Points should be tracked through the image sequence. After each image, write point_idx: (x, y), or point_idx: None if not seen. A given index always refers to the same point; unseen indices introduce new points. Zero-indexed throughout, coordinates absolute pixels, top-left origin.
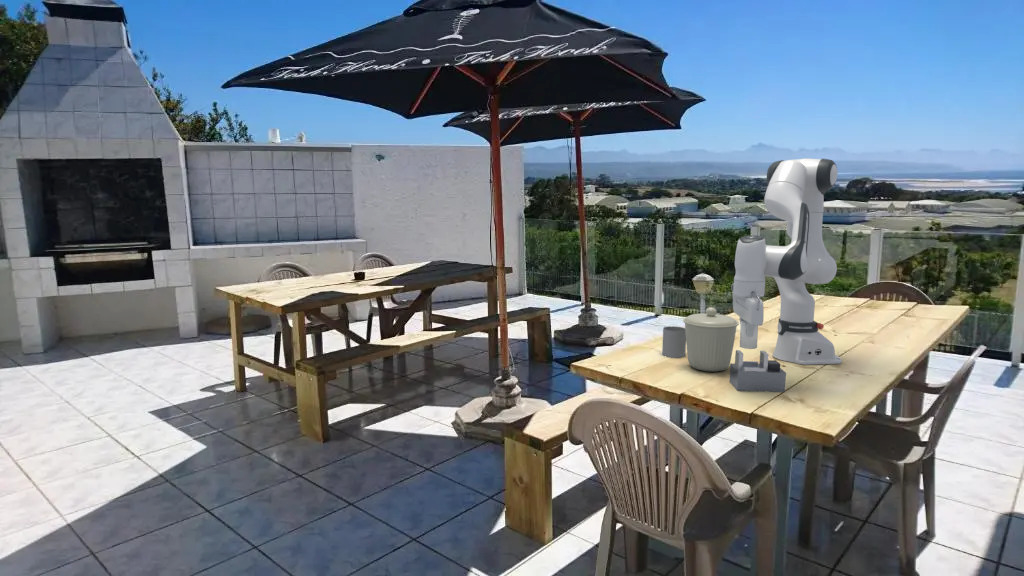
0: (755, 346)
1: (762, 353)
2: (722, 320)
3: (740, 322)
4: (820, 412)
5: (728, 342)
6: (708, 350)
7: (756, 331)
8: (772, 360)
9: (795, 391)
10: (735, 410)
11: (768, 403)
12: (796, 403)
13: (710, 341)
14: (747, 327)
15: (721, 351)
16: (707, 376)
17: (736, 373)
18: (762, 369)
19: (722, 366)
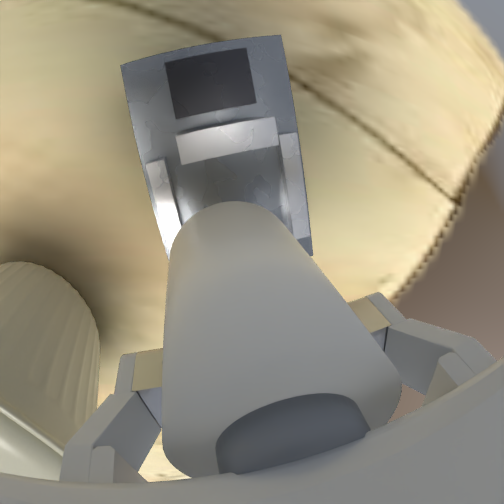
0: (278, 220)
1: (236, 152)
2: (2, 459)
3: (144, 457)
4: (425, 22)
5: (26, 337)
6: (94, 382)
7: (329, 283)
8: (170, 81)
9: (237, 16)
10: (442, 236)
11: (393, 140)
12: (374, 52)
13: (87, 410)
14: (416, 388)
15: (65, 336)
16: (142, 318)
17: None
18: (297, 148)
19: (69, 288)
